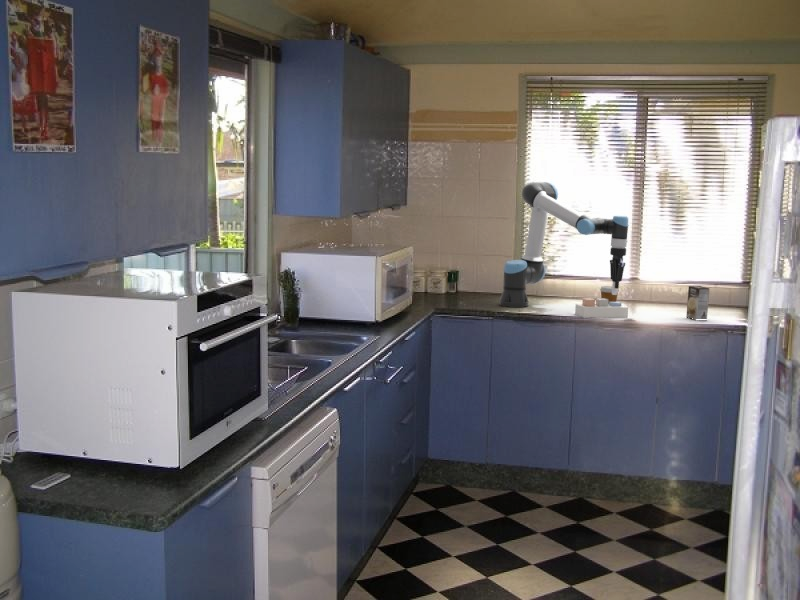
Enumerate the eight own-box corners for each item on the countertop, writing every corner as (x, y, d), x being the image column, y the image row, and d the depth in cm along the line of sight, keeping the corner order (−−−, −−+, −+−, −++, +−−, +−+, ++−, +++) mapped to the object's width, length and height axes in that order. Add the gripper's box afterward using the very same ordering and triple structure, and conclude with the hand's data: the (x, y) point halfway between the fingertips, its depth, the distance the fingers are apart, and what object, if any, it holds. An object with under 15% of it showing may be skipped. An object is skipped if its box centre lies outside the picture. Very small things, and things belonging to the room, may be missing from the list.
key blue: (608, 313, 456) (608, 301, 455) (616, 313, 457) (617, 301, 456) (612, 315, 452) (612, 303, 451) (620, 314, 452) (621, 302, 452)
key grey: (595, 310, 454) (595, 298, 453) (603, 310, 455) (604, 298, 454) (599, 311, 450) (599, 299, 449) (607, 311, 451) (608, 299, 450)
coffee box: (685, 317, 454) (687, 285, 452) (696, 317, 456) (699, 285, 453) (696, 320, 445) (698, 288, 443) (707, 320, 447) (710, 288, 445)
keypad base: (575, 313, 456) (575, 304, 455) (617, 313, 461) (618, 303, 460) (583, 317, 445) (584, 307, 444) (627, 317, 450) (628, 307, 449)
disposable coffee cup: (618, 312, 465) (619, 289, 463) (598, 311, 467) (600, 288, 465) (617, 309, 474) (618, 286, 473) (598, 308, 476) (600, 285, 474)
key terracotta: (582, 310, 453) (582, 298, 452) (590, 310, 454) (591, 298, 453) (585, 311, 448) (586, 299, 448) (594, 311, 449) (595, 299, 449)
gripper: (631, 248, 444) (627, 296, 448) (619, 246, 456) (616, 292, 460) (617, 248, 442) (613, 296, 446) (605, 245, 455) (602, 292, 459)
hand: (614, 294), depth 453 cm, fingers closed
